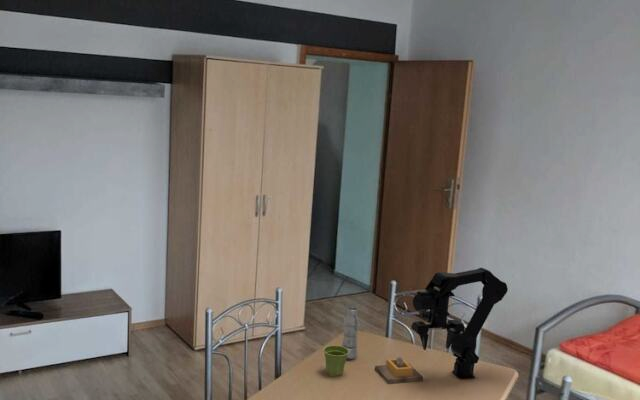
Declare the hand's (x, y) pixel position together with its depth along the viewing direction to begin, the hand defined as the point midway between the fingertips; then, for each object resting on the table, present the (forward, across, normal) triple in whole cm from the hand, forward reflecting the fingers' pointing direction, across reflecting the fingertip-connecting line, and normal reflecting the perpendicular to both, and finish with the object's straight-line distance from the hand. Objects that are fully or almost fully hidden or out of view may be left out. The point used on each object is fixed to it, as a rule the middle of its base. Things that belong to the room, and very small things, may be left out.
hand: (435, 349), depth 240 cm
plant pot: (+12, +34, -12) cm, 38 cm away
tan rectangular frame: (+10, +11, -6) cm, 16 cm away
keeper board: (+12, +11, -6) cm, 17 cm away
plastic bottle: (+12, +24, -24) cm, 36 cm away
